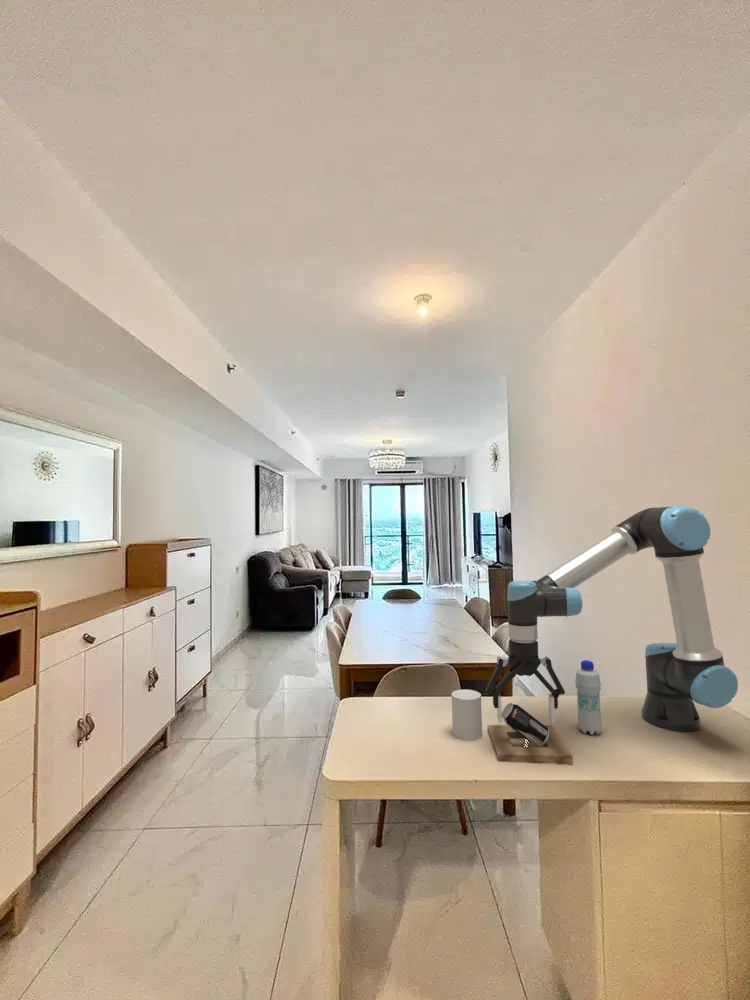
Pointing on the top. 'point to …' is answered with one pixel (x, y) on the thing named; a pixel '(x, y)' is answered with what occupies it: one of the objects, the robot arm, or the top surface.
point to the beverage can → (525, 724)
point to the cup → (467, 714)
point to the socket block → (547, 753)
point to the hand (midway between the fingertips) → (525, 720)
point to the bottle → (588, 698)
